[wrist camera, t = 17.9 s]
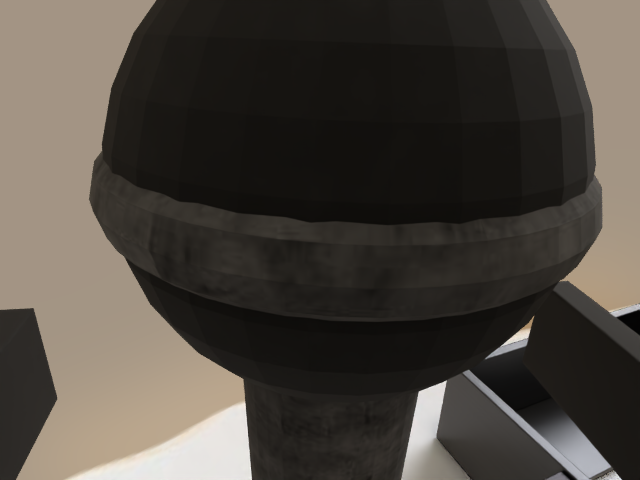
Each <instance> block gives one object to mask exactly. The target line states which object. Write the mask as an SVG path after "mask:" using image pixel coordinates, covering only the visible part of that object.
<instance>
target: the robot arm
mask: <svg viewBox="0 0 640 480" xmlns="http://www.w3.org/2000/svg"><path fill="white" fill-rule="evenodd" d="M522 362H523V363H524V365H525V366H526V367H527V368H528V369H529V371H530V372H531V373H532V374H533V375H534V376H535V378H536V379H537V380H538V381H539V382H540V383H541V385H542V386H543V387H544V388H545V389H546V391H547V392H548V393H549V394H550V395H551V396H552V398H553V399H554V400H555V401H556V402H557V404H558V405H559V406H560V407H561V408H562V409H563V411H564V412H565V413H566V414H567V415H568V417H569V418H570V419H571V420H572V421H573V422H574V424H575V425H576V426H577V427H578V428H579V429H580V431H581V432H582V433H583V434H584V435H585V437H586V438H587V439H588V440H589V441H590V442H591V444H592V445H593V446H594V447H595V448H596V450H597V451H598V452H599V453H600V454H601V455H602V457H603V458H604V459H605V460H606V461H607V462H608V464H609V465H610V466H611V467H612V468H613V470H614V471H615V472H616V473H617V474H618V475H619V477H620V478H621V479H622V480H640V335H638V334H637V333H636V332H634V331H633V330H632V329H630V328H629V327H628V326H626V325H625V324H624V323H622V322H621V321H620V320H619V319H617V318H616V317H615V316H613V315H612V314H611V313H609V312H608V311H607V310H605V309H604V308H603V307H601V306H600V305H599V304H598V303H596V302H595V301H594V300H592V299H591V298H590V297H588V296H587V295H586V294H584V293H583V292H582V291H580V290H579V289H578V288H577V287H575V286H574V285H573V284H571V283H570V282H569V281H561V282H558V284H557V285H556V286H555V288H554V289H553V291H552V292H551V293H550V295H549V296H548V297H547V299H546V300H545V301H544V303H543V304H542V305H541V307H540V308H539V309H538V311H537V312H536V313H535V315H534V319H533V323H532V326H531V330H530V334H529V338H528V341H527V345H526V349H525V353H524V356H523V360H522ZM56 400H57V395H56V391H55V388H54V384H53V380H52V376H51V373H50V369H49V365H48V361H47V357H46V354H45V350H44V346H43V342H42V339H41V335H40V331H39V327H38V323H37V320H36V316H35V312H34V309H33V308H30V309H10V310H0V480H16V478H17V476H18V474H19V472H20V471H21V469H22V466H23V465H24V463H25V461H26V459H27V457H28V455H29V453H30V451H31V449H32V447H33V445H34V443H35V441H36V439H37V437H38V435H39V434H40V432H41V430H42V428H43V426H44V423H45V422H46V420H47V418H48V416H49V414H50V412H51V410H52V408H53V406H54V404H55V402H56Z"/></svg>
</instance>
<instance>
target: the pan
mask: <svg viewBox="0 0 640 480" xmlns="http://www.w3.org/2000/svg"><path fill="white" fill-rule="evenodd" d="M610 313H611V314H612V315H613V316H615V317H616V318H617V319H619V320H620V321H621V322H622V323H624V324H625V325H626V326H628V327H629V328H630V329H632V330H633V331H634V332H636V333H637V334H638V335H640V303H639V304H636V305H633V306H629V307H626V308H623V309H620V310H617V311H613V312H610ZM527 341H528V338H527V339H524V340H521V341H518V342H514V343H511V344H508V345H505V346H502V347H499V348H498V349H496V350H495V351H494V352H493V353H491V354H490V355H489V356H488V357H486V358H485V359H484V360H483V361H481V362H480V363H479V364H478V365H477V366H475V367H474V368H471V369H469V370H467V371H465V372H463V373H461V374H459V375H457V376H455V377H453V378H450V379H448V380H447V383H446V388H445V393H444V399H443V404H442V409H441V414H440V420H439V425H438V430H437V438H438V439H439V440H440V442H441V443H442V444H443V445H444V446H445V448H446V449H447V450H448V451H449V452H450V453H451V455H452V456H453V457H454V458H455V459H456V461H457V462H458V463H459V464H460V465H461V466H462V468H463V469H464V470H465V471H466V472H467V474H468V475H469V476H470V477H471V478H472V479H473V480H594V479H596V478H598V477H600V476H602V475H604V474H606V473H608V472H610V471H611V470H613V468H612V467H611V466H610V465H609V464H608V462H607V461H606V460H605V459H604V458H603V457H602V455H601V454H600V453H599V452H598V451H597V450H596V448H595V447H594V446H593V445H592V444H591V442H590V441H589V440H588V439H587V438H586V437H585V435H584V434H583V433H582V432H581V431H580V429H579V428H578V427H577V426H576V425H575V424H574V422H573V421H572V420H571V419H570V418H569V417H568V415H567V414H566V413H565V412H564V411H563V409H562V408H561V407H560V406H559V405H558V404H557V402H556V401H555V400H554V399H553V398H552V396H551V395H550V394H549V393H548V392H547V391H546V389H545V388H544V387H543V386H542V385H541V383H540V382H539V381H538V380H537V379H536V378H535V376H534V375H533V374H532V373H531V372H530V371H529V369H528V368H527V367H526V366H525V365H524V363H523V362H522V360H523V356H524V353H525V349H526V345H527Z"/></svg>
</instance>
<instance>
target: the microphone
mask: <svg viewBox="0 0 640 480" xmlns="http://www.w3.org/2000/svg"><path fill="white" fill-rule="evenodd" d="M593 129H594V128H593V113H592V105H591V101H590V98H589V95H588V92H587V88H586V85H585V81H584V78H583V75H582V72H581V68H580V65H579V62H578V58H577V55H576V51H575V49H574V47H573V46H572V44H571V42H570V40H569V39H568V37H567V35H566V34H565V32H564V30H563V28H562V27H561V25H560V23H559V22H558V20H557V18H556V16H555V15H554V13H553V11H552V10H551V8H550V6H549V4H548V3H547V1H546V0H156V2H155V3H154V5H153V6H152V7H151V9H150V10H149V12H148V13H147V15H146V16H145V18H144V19H143V20H142V22H141V23H140V25H139V26H138V28H137V29H136V30H135V32H134V33H133V36H132V39H131V41H130V43H129V46H128V48H127V51H126V53H125V55H124V58H123V61H122V63H121V65H120V68H119V70H118V73H117V75H116V78H115V80H114V83H113V85H112V88H111V94H110V99H109V105H108V111H107V117H106V123H105V129H104V135H103V141H102V152H101V153H100V154H99V156H98V157H97V158H96V160H95V161H94V166H93V173H92V181H91V189H90V197H89V200H90V203H91V206H92V209H93V212H94V214H95V216H96V218H97V220H98V222H99V224H100V226H101V227H102V229H103V231H104V233H105V235H106V237H107V239H108V240H109V241H110V242H111V244H112V245H113V246H114V247H115V249H116V250H117V251H118V252H119V253H120V254H122V255H123V256H124V257H125V259H126V261H127V263H128V265H129V266H130V268H131V270H132V272H133V274H134V276H135V277H136V279H137V281H138V283H139V285H140V286H141V288H142V290H143V292H144V294H145V295H146V297H147V299H148V301H149V303H150V304H151V305H152V306H153V307H154V309H155V310H156V311H157V312H158V313H159V314H160V315H161V316H162V317H163V318H164V319H165V320H166V321H167V322H168V323H169V324H170V325H171V326H172V327H173V329H174V330H175V331H176V332H177V333H178V334H179V335H180V336H181V337H182V338H183V339H184V340H185V341H186V342H188V343H189V344H190V345H191V346H192V347H193V348H194V349H195V350H196V351H197V352H198V353H200V354H201V355H203V356H205V357H206V358H208V359H210V360H211V361H213V362H215V363H216V364H218V365H220V366H222V367H223V368H225V369H227V370H228V371H230V372H232V373H234V374H235V375H237V376H239V377H241V378H243V379H244V389H245V402H246V414H247V426H248V437H249V449H250V461H251V473H252V480H401V477H402V472H403V467H404V462H405V457H406V452H407V447H408V442H409V437H410V432H411V427H412V422H413V417H414V412H415V407H416V402H417V397H418V392H419V391H421V390H423V389H426V388H429V387H431V386H434V385H436V384H439V383H442V382H444V381H446V380H448V379H450V378H453V377H455V376H457V375H459V374H461V373H463V372H465V371H467V370H469V369H471V368H474V367H475V366H477V365H478V364H479V363H480V362H481V361H483V360H484V359H485V358H486V357H488V356H489V355H490V354H491V353H493V352H494V351H495V350H496V349H498V348H499V347H500V346H501V345H503V344H504V343H505V342H506V341H507V340H509V339H510V338H511V337H512V336H513V335H515V334H516V333H517V332H518V331H519V330H520V329H522V328H523V327H524V326H525V325H526V324H528V323H529V321H530V320H531V319H532V317H533V316H534V315H535V313H536V312H537V311H538V309H539V308H540V307H541V305H542V304H543V303H544V301H545V300H546V299H547V297H548V296H549V295H550V293H551V292H552V291H553V289H554V288H555V286H556V285H557V284H558V282H559V281H560V280H562V279H564V278H565V277H566V276H567V275H568V274H569V273H570V272H571V271H572V270H573V269H574V268H576V267H577V266H578V264H579V263H580V262H581V260H582V259H583V257H584V256H585V254H586V253H587V252H588V250H589V249H590V247H591V245H592V244H593V243H594V241H595V240H596V238H597V236H598V235H599V233H600V231H601V229H602V187H601V185H600V183H599V182H598V180H597V178H596V177H595V175H594V172H595V166H596V161H595V144H594V130H593Z"/></svg>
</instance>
